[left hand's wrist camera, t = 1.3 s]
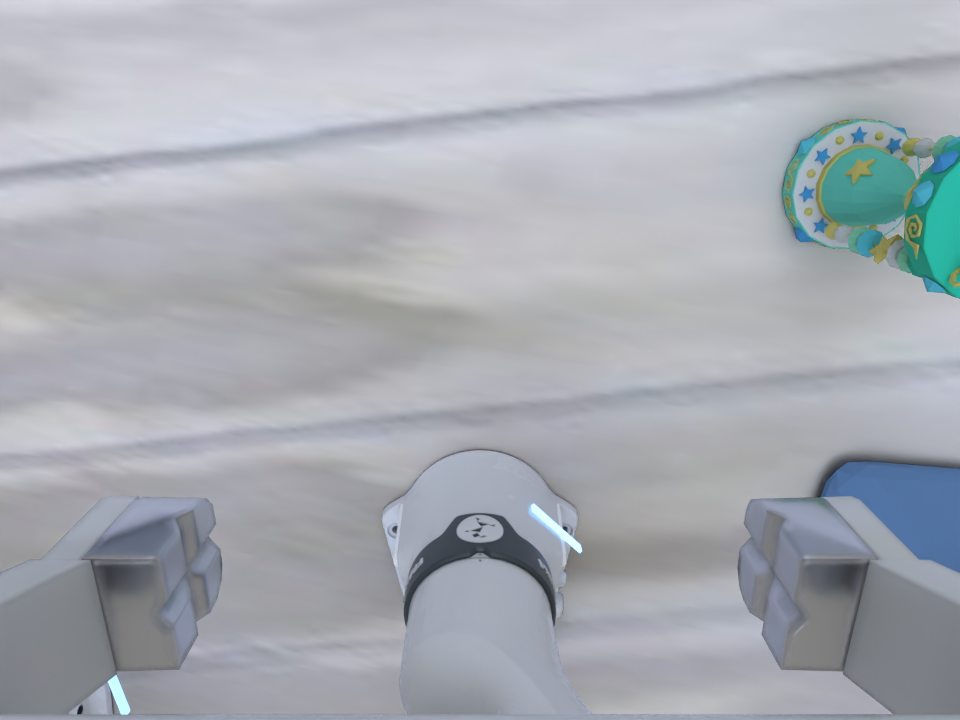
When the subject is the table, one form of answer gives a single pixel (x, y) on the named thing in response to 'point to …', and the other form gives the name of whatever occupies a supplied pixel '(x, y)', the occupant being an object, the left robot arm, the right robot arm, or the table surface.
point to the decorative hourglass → (880, 198)
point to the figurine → (908, 504)
